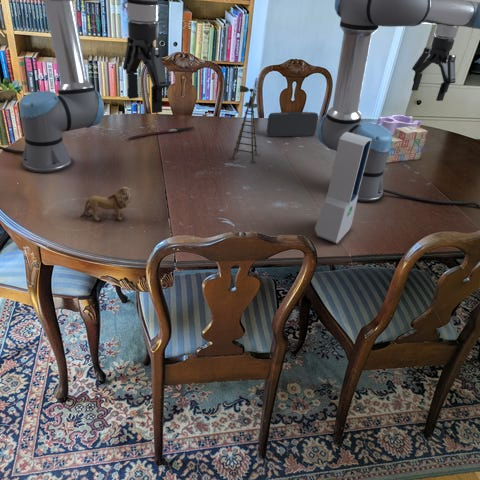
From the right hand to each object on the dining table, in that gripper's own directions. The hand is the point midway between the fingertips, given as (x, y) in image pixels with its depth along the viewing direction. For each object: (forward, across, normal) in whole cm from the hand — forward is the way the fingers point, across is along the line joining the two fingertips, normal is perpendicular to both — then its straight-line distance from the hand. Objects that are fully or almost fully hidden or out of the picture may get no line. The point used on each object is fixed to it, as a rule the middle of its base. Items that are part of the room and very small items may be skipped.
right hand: (426, 95), depth 183 cm
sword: (+26, +45, +94) cm, 107 cm away
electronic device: (+26, -42, +68) cm, 84 cm away
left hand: (-4, -8, +114) cm, 115 cm away
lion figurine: (+26, -16, +128) cm, 131 cm away
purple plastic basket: (+26, +24, -14) cm, 38 cm away
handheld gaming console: (+26, +32, +39) cm, 57 cm away
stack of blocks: (+26, 0, +7) cm, 27 cm away
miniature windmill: (+26, +15, +70) cm, 76 cm away
